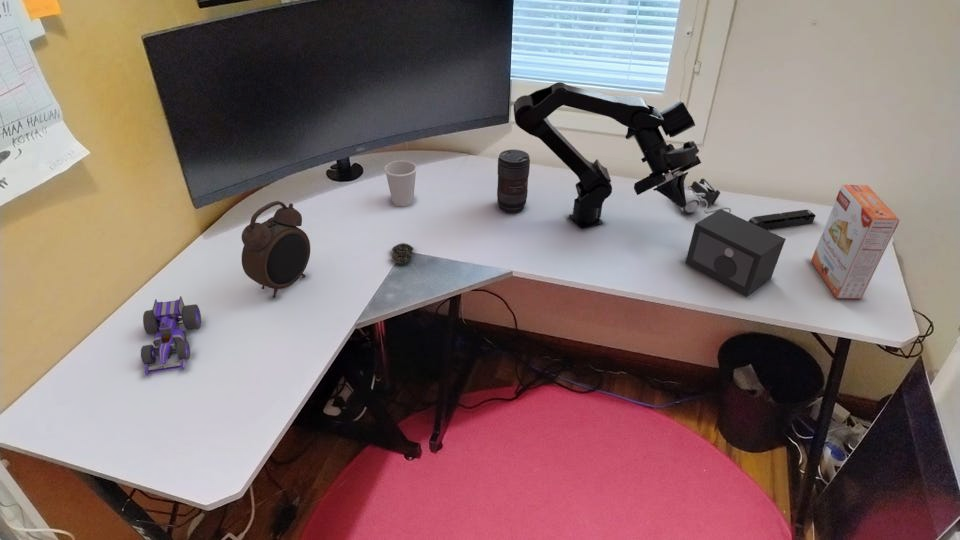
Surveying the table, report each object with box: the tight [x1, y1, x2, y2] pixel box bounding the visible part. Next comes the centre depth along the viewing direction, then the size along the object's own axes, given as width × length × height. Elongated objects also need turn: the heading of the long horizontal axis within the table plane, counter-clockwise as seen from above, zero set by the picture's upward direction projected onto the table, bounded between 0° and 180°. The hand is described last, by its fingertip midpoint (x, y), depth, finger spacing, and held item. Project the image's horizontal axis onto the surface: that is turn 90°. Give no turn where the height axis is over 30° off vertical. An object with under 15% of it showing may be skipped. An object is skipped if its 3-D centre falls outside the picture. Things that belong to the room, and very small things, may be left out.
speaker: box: [684, 208, 786, 297], centre depth 138 cm, size 16×10×11 cm, turn 40°
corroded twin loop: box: [391, 242, 414, 265], centre depth 144 cm, size 5×8×1 cm, turn 3°
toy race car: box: [140, 295, 202, 376], centre depth 118 cm, size 10×15×6 cm, turn 13°
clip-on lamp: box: [679, 178, 732, 214], centre depth 161 cm, size 12×6×18 cm
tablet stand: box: [747, 209, 817, 231], centre depth 157 cm, size 18×3×3 cm, turn 104°
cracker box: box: [810, 184, 901, 300], centre depth 133 cm, size 14×6×21 cm, turn 178°
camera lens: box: [496, 149, 531, 214], centre depth 159 cm, size 8×8×15 cm
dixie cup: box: [384, 159, 418, 207], centre depth 162 cm, size 8×8×10 cm
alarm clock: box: [241, 200, 311, 299], centre depth 130 cm, size 15×7×20 cm, turn 148°
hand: (683, 206), depth 144 cm, fingers closed
